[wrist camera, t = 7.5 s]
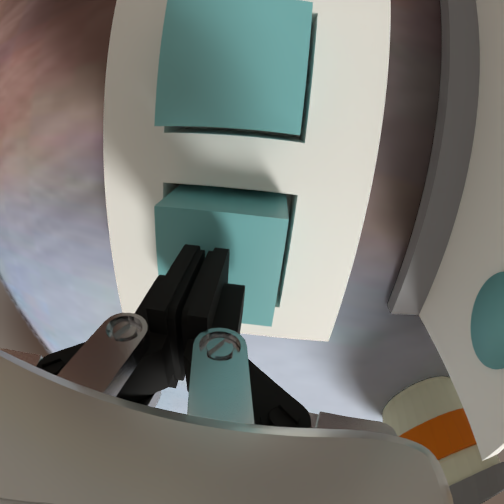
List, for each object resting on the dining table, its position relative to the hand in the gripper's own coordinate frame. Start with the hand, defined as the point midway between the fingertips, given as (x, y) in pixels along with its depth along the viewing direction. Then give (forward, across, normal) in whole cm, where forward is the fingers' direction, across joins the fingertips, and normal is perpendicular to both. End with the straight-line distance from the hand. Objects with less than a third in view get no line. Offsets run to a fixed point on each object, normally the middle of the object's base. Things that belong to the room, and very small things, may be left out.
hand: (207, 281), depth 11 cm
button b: (+4, 0, -8) cm, 9 cm away
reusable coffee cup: (+7, -21, +18) cm, 29 cm away
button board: (+7, 0, -8) cm, 10 cm away
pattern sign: (+6, -14, -8) cm, 18 cm away
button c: (+4, 0, 0) cm, 4 cm away
